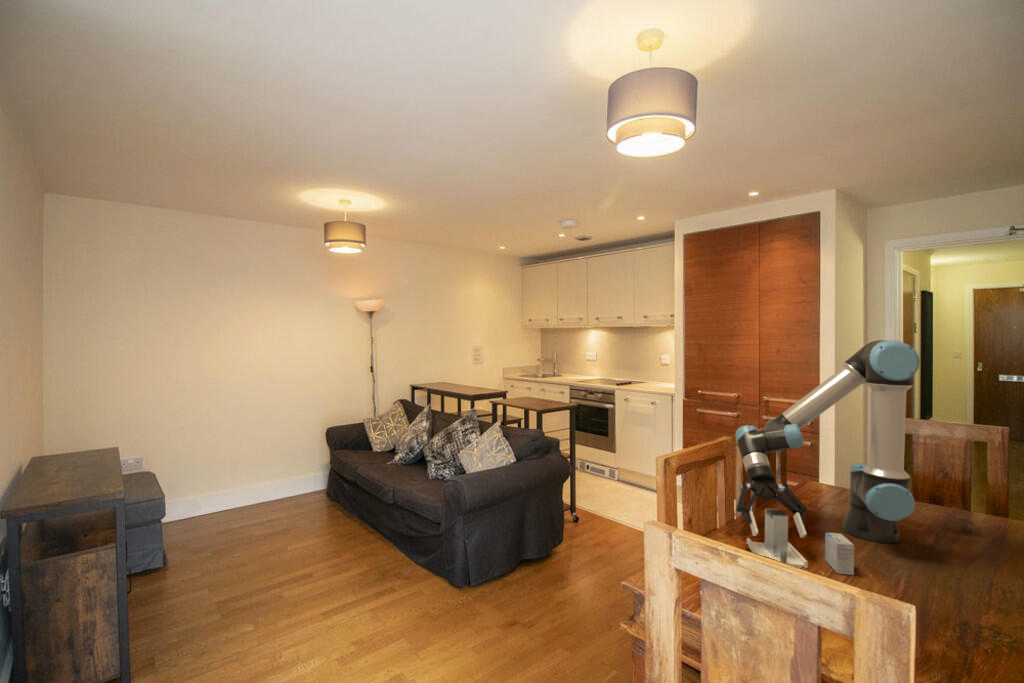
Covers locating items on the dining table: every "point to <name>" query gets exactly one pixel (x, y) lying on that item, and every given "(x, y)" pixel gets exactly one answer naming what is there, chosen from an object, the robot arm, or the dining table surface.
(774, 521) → the block
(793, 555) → the tray
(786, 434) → the robot arm
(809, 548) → the dining table surface
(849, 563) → the medicine box
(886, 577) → the dining table surface
